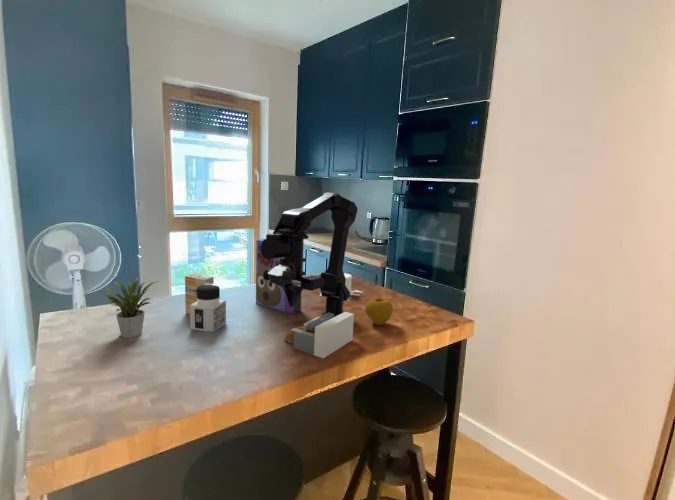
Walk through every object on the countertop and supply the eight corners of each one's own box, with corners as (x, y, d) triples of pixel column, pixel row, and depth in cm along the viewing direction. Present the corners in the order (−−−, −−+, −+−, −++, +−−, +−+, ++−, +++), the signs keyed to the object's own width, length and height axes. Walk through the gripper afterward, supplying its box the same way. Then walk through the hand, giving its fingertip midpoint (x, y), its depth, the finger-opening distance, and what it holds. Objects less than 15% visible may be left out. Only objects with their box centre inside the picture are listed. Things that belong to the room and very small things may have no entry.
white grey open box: (322, 330, 116) (323, 305, 114) (352, 339, 110) (354, 314, 109) (290, 347, 103) (291, 319, 102) (323, 358, 98) (324, 329, 96)
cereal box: (255, 303, 138) (256, 239, 134) (265, 300, 142) (265, 238, 138) (292, 314, 129) (293, 245, 124) (300, 310, 133) (302, 244, 128)
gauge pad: (327, 334, 112) (328, 310, 111) (333, 336, 111) (334, 312, 110) (300, 349, 102) (301, 322, 100) (306, 351, 101) (307, 324, 99)
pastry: (289, 347, 104) (289, 334, 103) (281, 338, 110) (281, 325, 109) (319, 341, 108) (320, 329, 108) (310, 333, 114) (310, 321, 113)
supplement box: (184, 314, 124) (183, 275, 122) (195, 309, 129) (194, 272, 126) (204, 318, 121) (203, 279, 119) (214, 313, 126) (214, 276, 123)
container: (213, 332, 111) (213, 290, 108) (190, 329, 112) (189, 287, 110) (226, 323, 118) (226, 283, 116) (204, 320, 120) (203, 281, 117)
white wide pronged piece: (373, 295, 157) (374, 276, 155) (342, 304, 143) (343, 284, 141) (339, 284, 170) (339, 267, 169) (307, 292, 156) (307, 273, 155)
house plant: (153, 319, 118) (151, 269, 115) (170, 333, 108) (168, 279, 105) (101, 330, 108) (97, 276, 105) (114, 347, 98) (110, 287, 96)
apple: (358, 323, 123) (360, 297, 122) (375, 316, 130) (377, 292, 128) (381, 331, 117) (382, 304, 116) (397, 324, 124) (399, 298, 122)
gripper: (249, 254, 107) (249, 306, 109) (301, 264, 97) (299, 321, 100) (276, 249, 116) (275, 297, 119) (325, 258, 106) (323, 310, 109)
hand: (291, 306), depth 111 cm, fingers closed
